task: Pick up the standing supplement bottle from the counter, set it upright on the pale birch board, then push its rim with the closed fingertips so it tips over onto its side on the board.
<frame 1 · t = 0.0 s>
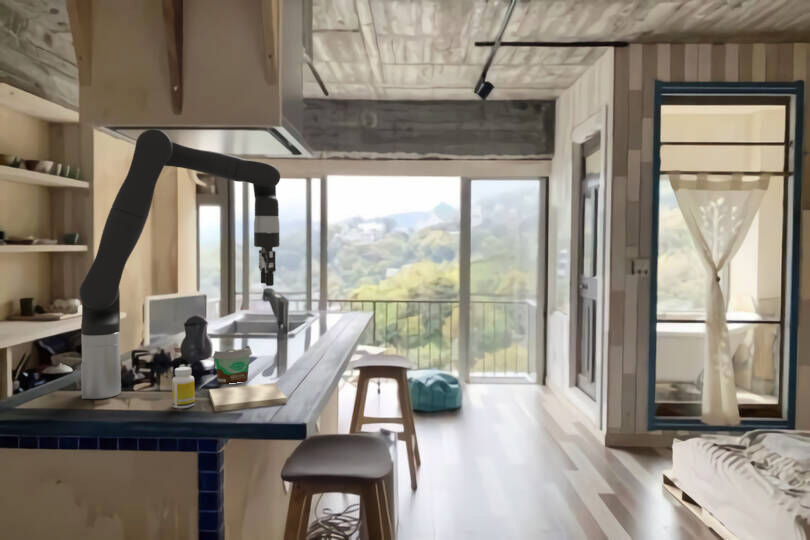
hand: (267, 284, 171), 29 cm above the worktop, fingers open, 8 cm apart
supplement bottle: (183, 406, 145), on the worktop
food container: (237, 382, 169), on the worktop
birch board: (247, 398, 151), on the worktop
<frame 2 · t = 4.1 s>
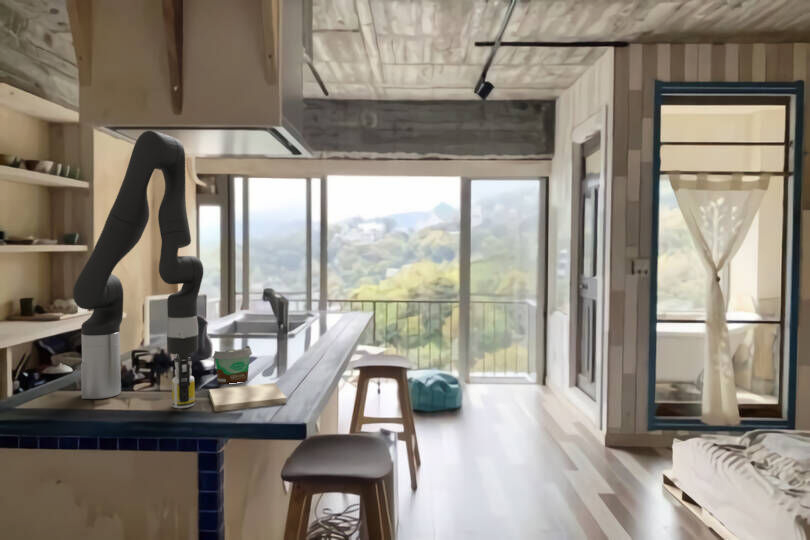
hand: (183, 398, 145), 2 cm above the worktop, fingers closed on supplement bottle, 5 cm apart
supplement bottle: (183, 406, 145), on the worktop, touching gripper
everything else where it was.
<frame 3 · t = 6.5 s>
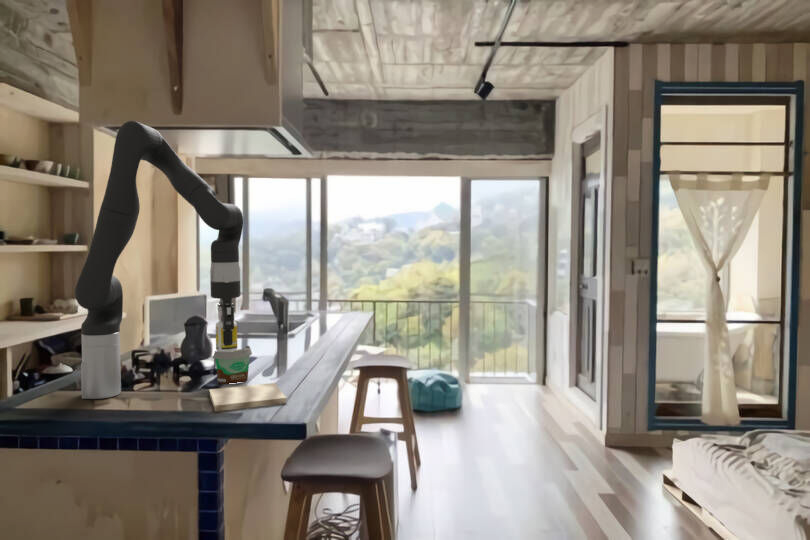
hand: (226, 342, 148), 16 cm above the worktop, fingers closed on supplement bottle, 5 cm apart
supplement bottle: (226, 351, 148), point 14 cm above the worktop, touching gripper
everything else where it was.
when the fingers open (4 cm above the worktop, at t = 9.1 s): supplement bottle stays where it is, resting on birch board.
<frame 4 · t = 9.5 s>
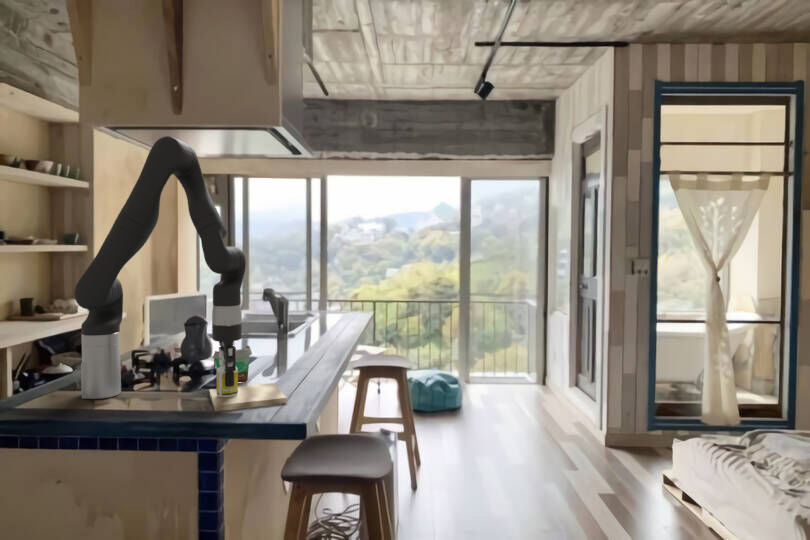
hand: (227, 382, 149), 5 cm above the worktop, fingers open, 8 cm apart
supplement bottle: (227, 396, 149), point 1 cm above the worktop, touching birch board
everything else where it was.
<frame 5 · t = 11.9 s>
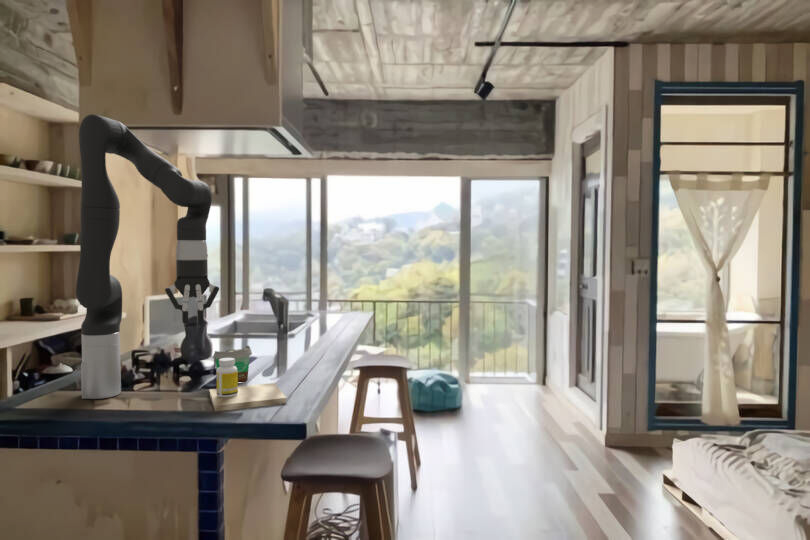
hand: (192, 324, 145), 21 cm above the worktop, fingers closed
nothing on the worktop moved.
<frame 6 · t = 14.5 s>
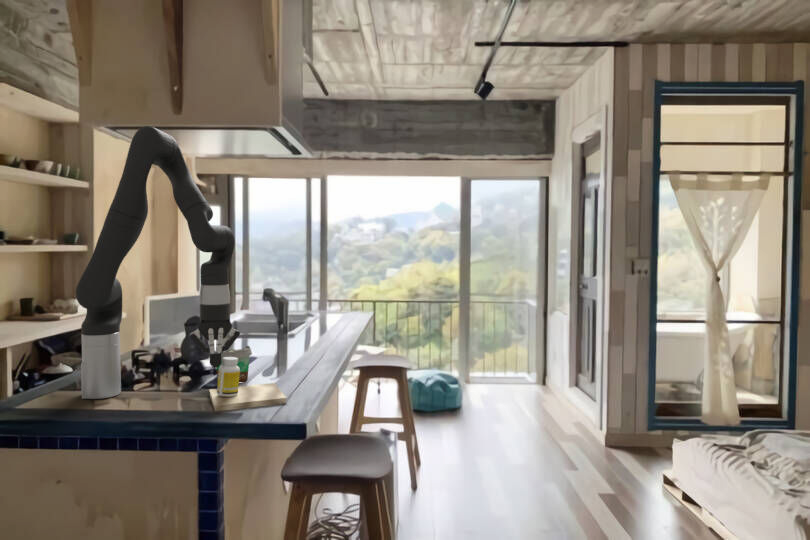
hand: (215, 366, 147), 10 cm above the worktop, fingers closed
supplement bottle: (227, 395, 149), point 2 cm above the worktop, touching birch board, gripper
everything else where it was.
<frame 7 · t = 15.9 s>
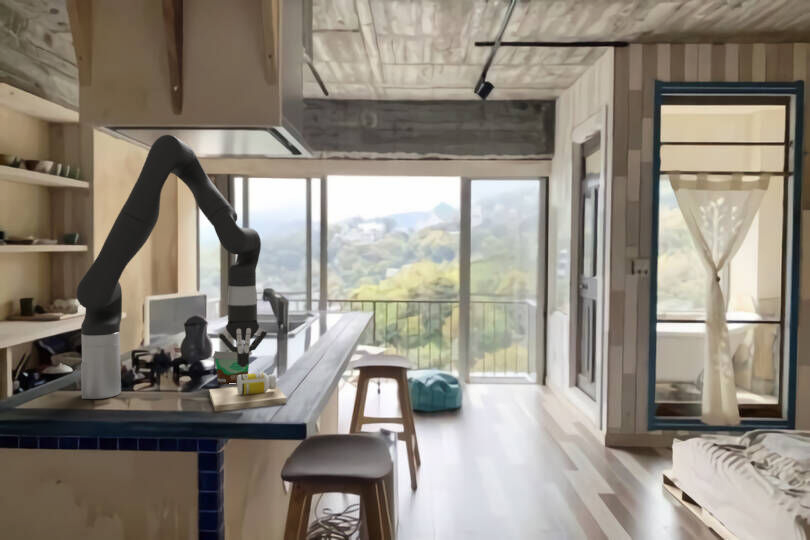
hand: (242, 366, 150), 9 cm above the worktop, fingers closed
supplement bottle: (237, 385, 150), point 4 cm above the worktop, touching birch board
everything else where it was.
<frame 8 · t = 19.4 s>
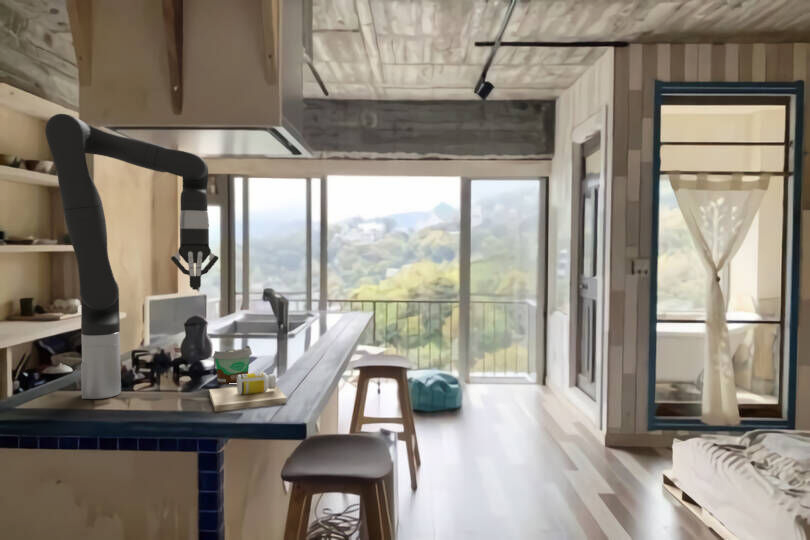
hand: (195, 289, 157), 29 cm above the worktop, fingers closed
nothing on the worktop moved.
at the end: supplement bottle tilted 90°; supplement bottle inside the target area (3.6 cm from its centre), point 4.2 cm above the worktop; the gripper is holding nothing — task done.
